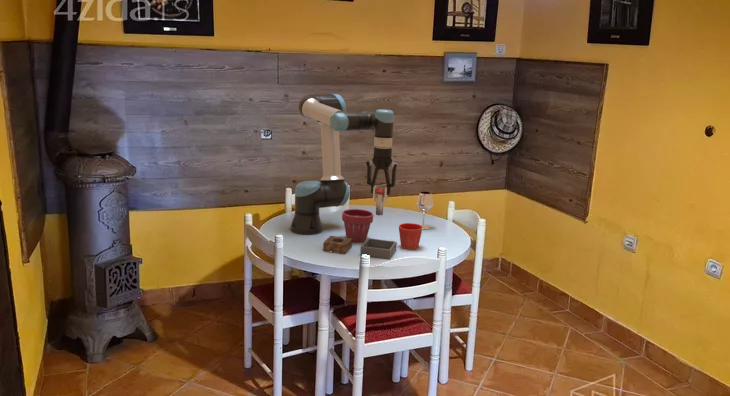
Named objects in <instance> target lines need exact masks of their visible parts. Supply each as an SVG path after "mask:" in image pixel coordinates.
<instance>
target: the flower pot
mask: <svg viewBox="0 0 730 396" xmlns="http://www.w3.org/2000/svg"><path fill="white" fill-rule="evenodd" d="M421 225H422V224H418V223H412V222H406V223H401V224H399V225H398V231H399V232H398V233H399V240H400V247H401V248H402V249H406V250H416V249H418V248H419V244H420V240H421V237H422V233H423V229H422V228H423V227H422V226H421Z"/></svg>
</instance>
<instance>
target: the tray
mask: <svg viewBox="0 0 730 396" xmlns="http://www.w3.org/2000/svg"><path fill="white" fill-rule="evenodd" d="M397 244H398V243H397V241H394V240H386V239H378V238H371V237H367V238H366V240H365V241H363V243H362V244H361V246H360V253H359V254H360V255H362V254H367V255H370V256H371V257H370V258H375V259H382V260H391V259H392V257H393V255H394V254H395V253H396V251H397Z"/></svg>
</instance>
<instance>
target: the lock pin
mask: <svg viewBox="0 0 730 396" xmlns="http://www.w3.org/2000/svg"><path fill="white" fill-rule="evenodd" d="M375 192H376V201H375V202H376V205H375V215H376V216H383V215H384V198H385V188H383V187H382V188H381V187H377V189H375Z"/></svg>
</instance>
